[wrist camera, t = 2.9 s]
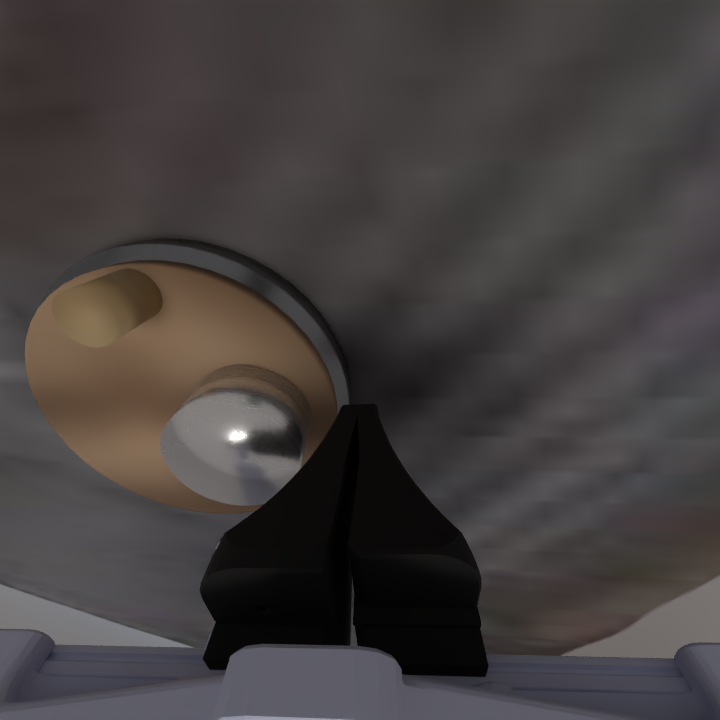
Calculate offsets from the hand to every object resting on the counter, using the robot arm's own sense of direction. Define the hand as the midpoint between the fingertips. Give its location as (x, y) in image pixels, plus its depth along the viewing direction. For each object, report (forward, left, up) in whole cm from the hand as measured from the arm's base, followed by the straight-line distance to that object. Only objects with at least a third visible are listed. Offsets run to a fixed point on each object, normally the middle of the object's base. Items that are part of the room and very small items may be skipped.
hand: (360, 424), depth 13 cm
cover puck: (0, +5, -1) cm, 5 cm away
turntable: (0, +8, -2) cm, 8 cm away
